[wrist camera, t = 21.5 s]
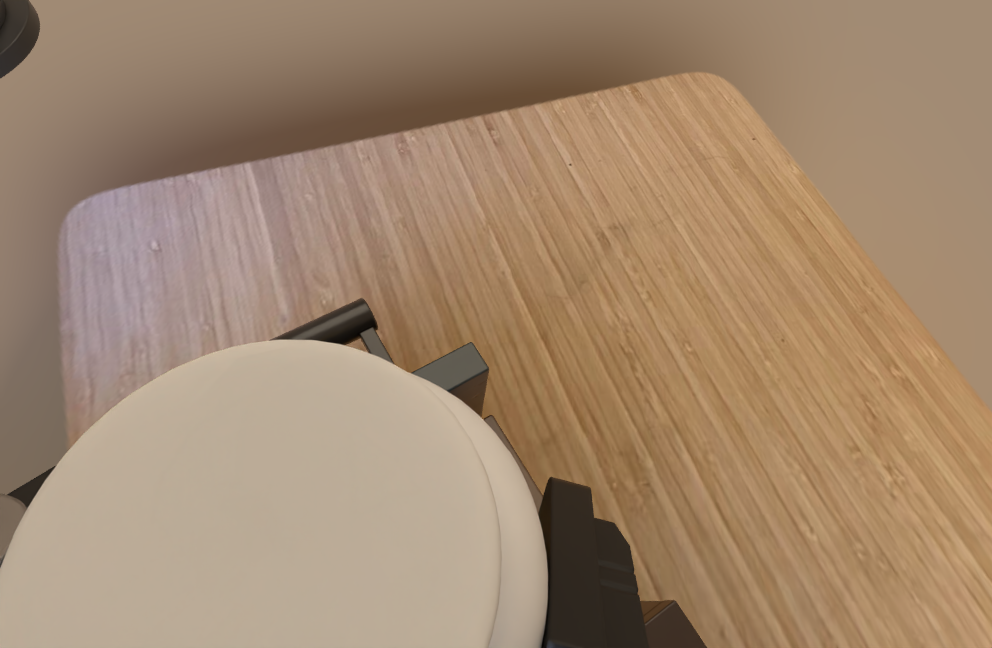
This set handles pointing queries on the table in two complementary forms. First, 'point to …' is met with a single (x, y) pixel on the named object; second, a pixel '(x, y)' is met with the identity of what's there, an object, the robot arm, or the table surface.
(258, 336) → the table surface
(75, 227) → the table surface
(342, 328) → the drawer
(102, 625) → the supplement bottle
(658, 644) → the cabinet
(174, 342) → the table surface
